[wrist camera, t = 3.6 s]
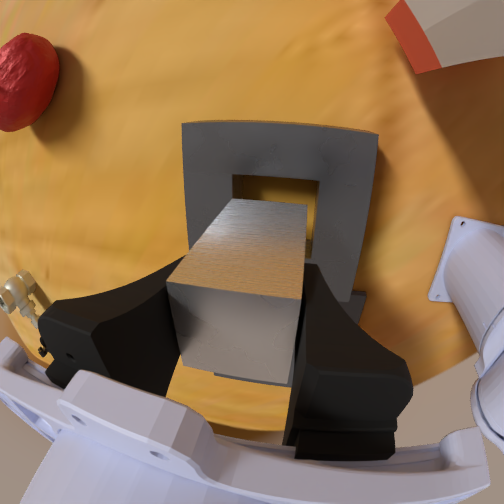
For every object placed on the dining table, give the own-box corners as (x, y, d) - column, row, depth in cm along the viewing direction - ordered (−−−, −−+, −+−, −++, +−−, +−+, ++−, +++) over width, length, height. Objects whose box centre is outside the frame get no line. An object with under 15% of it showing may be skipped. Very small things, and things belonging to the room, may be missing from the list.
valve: (17, 274, 33) (58, 332, 38) (-10, 296, 28) (36, 358, 32) (28, 261, 31) (74, 327, 35) (-2, 285, 25) (50, 356, 29)
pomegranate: (86, 66, 18) (4, 69, 10) (41, 142, 22) (-28, 168, 14) (49, 20, 15) (-20, 18, 7) (10, 91, 19) (-51, 106, 11)
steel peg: (307, 204, 15) (301, 299, 8) (300, 270, 16) (286, 383, 10) (232, 198, 15) (165, 281, 8) (233, 262, 17) (183, 365, 10)
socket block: (368, 131, 17) (378, 134, 14) (345, 280, 23) (348, 302, 20) (198, 120, 19) (181, 123, 16) (204, 264, 25) (192, 283, 22)
